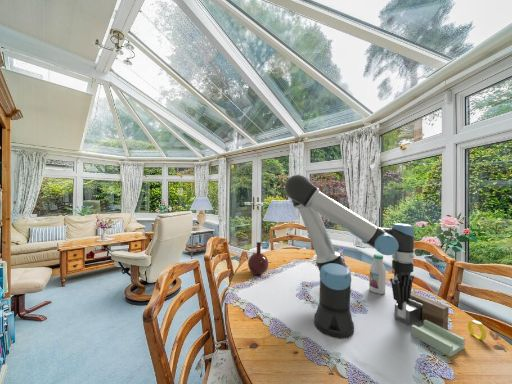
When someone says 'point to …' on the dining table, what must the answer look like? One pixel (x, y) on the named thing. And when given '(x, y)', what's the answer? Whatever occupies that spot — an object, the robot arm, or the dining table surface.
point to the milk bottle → (377, 275)
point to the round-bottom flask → (258, 261)
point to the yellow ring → (479, 327)
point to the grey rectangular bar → (411, 312)
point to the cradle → (439, 338)
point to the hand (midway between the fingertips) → (401, 316)
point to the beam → (432, 310)
